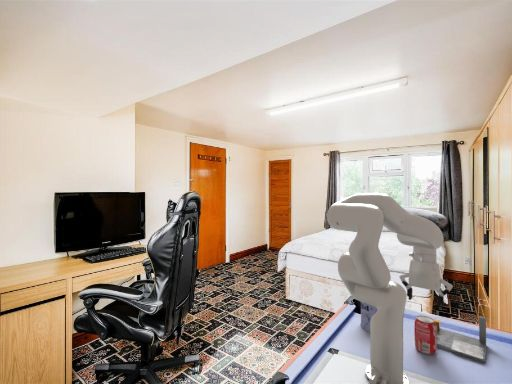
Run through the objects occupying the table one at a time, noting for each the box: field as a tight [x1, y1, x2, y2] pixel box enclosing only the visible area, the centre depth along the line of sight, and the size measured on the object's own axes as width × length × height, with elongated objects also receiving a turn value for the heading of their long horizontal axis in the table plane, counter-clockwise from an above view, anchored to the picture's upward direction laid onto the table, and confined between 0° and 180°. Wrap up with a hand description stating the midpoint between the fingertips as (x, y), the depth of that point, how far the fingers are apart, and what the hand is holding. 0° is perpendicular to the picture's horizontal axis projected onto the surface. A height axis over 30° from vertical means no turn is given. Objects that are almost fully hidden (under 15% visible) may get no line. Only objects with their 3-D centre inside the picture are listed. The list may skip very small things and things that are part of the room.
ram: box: [431, 317, 441, 337], centre depth 109 cm, size 15×3×4 cm, turn 137°
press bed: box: [436, 315, 487, 364], centre depth 104 cm, size 16×20×11 cm
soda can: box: [413, 314, 437, 355], centre depth 100 cm, size 7×7×12 cm
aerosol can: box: [360, 302, 378, 332], centre depth 118 cm, size 8×8×20 cm
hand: (424, 302), depth 100 cm, fingers open, 9 cm apart
